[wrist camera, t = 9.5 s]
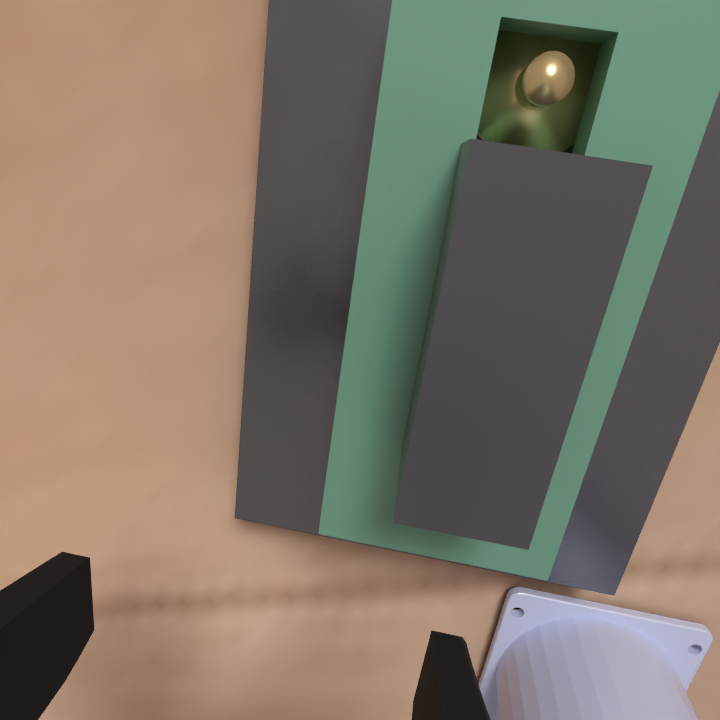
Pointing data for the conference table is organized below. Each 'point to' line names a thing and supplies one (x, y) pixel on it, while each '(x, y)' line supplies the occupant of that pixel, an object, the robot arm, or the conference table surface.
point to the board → (407, 216)
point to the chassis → (338, 259)
